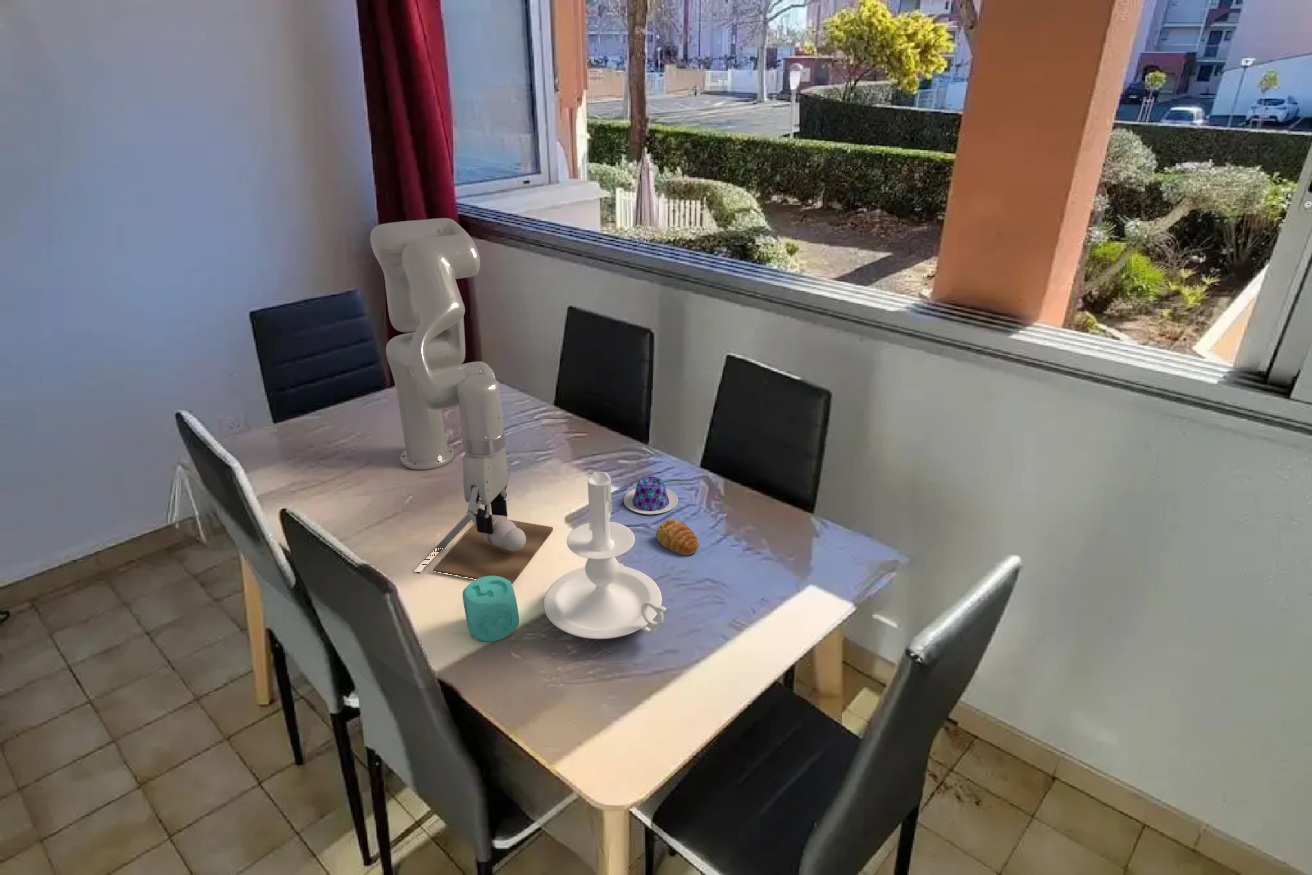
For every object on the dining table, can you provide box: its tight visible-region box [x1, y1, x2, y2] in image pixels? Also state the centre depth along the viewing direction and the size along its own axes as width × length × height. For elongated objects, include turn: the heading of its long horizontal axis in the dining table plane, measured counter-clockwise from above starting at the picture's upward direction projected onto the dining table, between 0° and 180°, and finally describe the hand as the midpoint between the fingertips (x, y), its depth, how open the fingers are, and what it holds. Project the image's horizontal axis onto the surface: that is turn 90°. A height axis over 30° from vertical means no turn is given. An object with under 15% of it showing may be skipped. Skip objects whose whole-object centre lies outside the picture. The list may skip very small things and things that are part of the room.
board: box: [432, 519, 554, 585], centre depth 156 cm, size 20×16×1 cm
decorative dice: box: [462, 576, 520, 643], centre depth 134 cm, size 8×8×8 cm
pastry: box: [655, 518, 700, 556], centre depth 158 cm, size 9×7×4 cm
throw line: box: [422, 513, 472, 565], centre depth 159 cm, size 22×2×1 cm, turn 164°
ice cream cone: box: [465, 511, 526, 551], centre depth 154 cm, size 6×6×15 cm
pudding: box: [623, 476, 679, 515], centre depth 172 cm, size 12×12×5 cm
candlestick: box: [543, 471, 667, 640], centre depth 131 cm, size 21×25×28 cm
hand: (492, 523), depth 153 cm, fingers closed on ice cream cone, 5 cm apart
